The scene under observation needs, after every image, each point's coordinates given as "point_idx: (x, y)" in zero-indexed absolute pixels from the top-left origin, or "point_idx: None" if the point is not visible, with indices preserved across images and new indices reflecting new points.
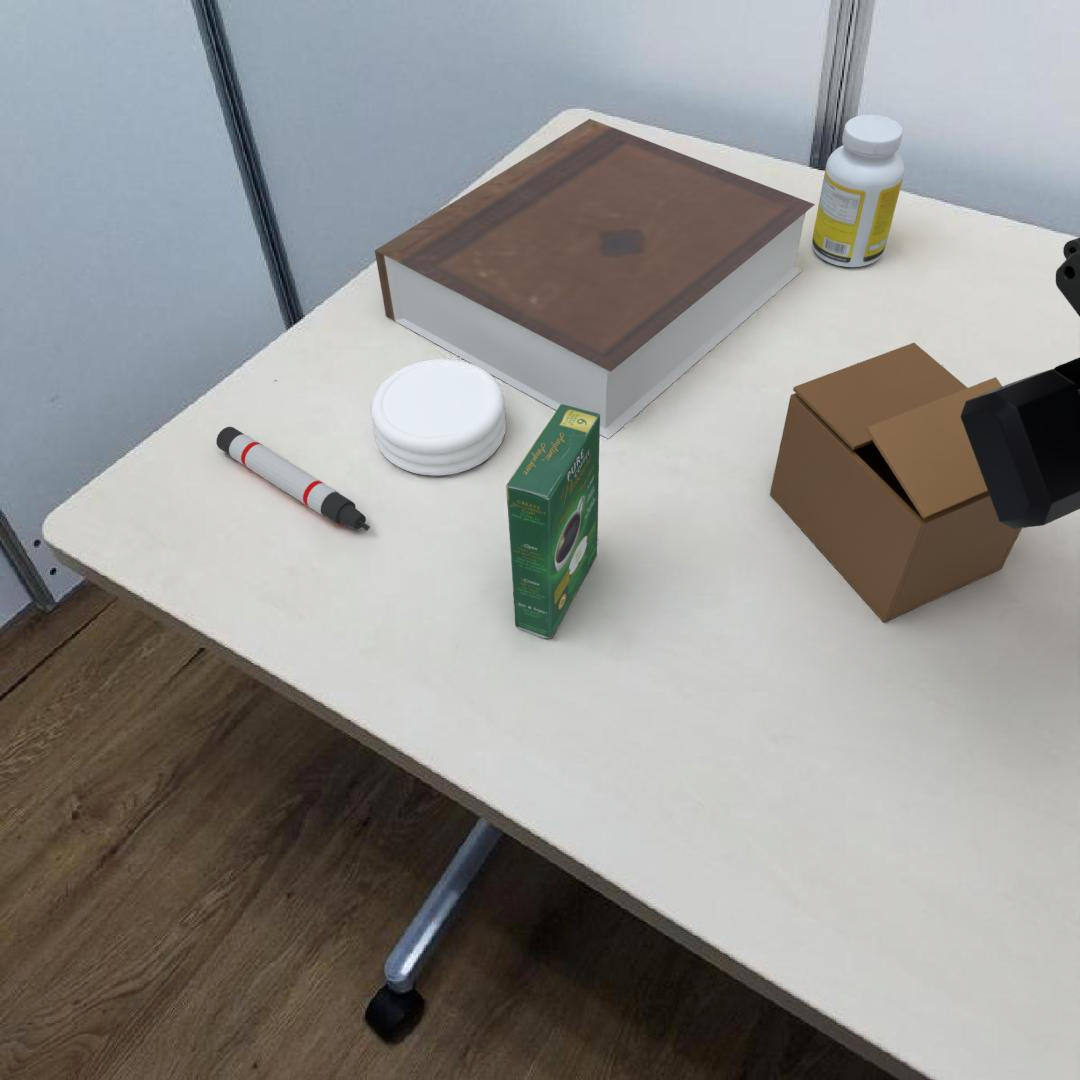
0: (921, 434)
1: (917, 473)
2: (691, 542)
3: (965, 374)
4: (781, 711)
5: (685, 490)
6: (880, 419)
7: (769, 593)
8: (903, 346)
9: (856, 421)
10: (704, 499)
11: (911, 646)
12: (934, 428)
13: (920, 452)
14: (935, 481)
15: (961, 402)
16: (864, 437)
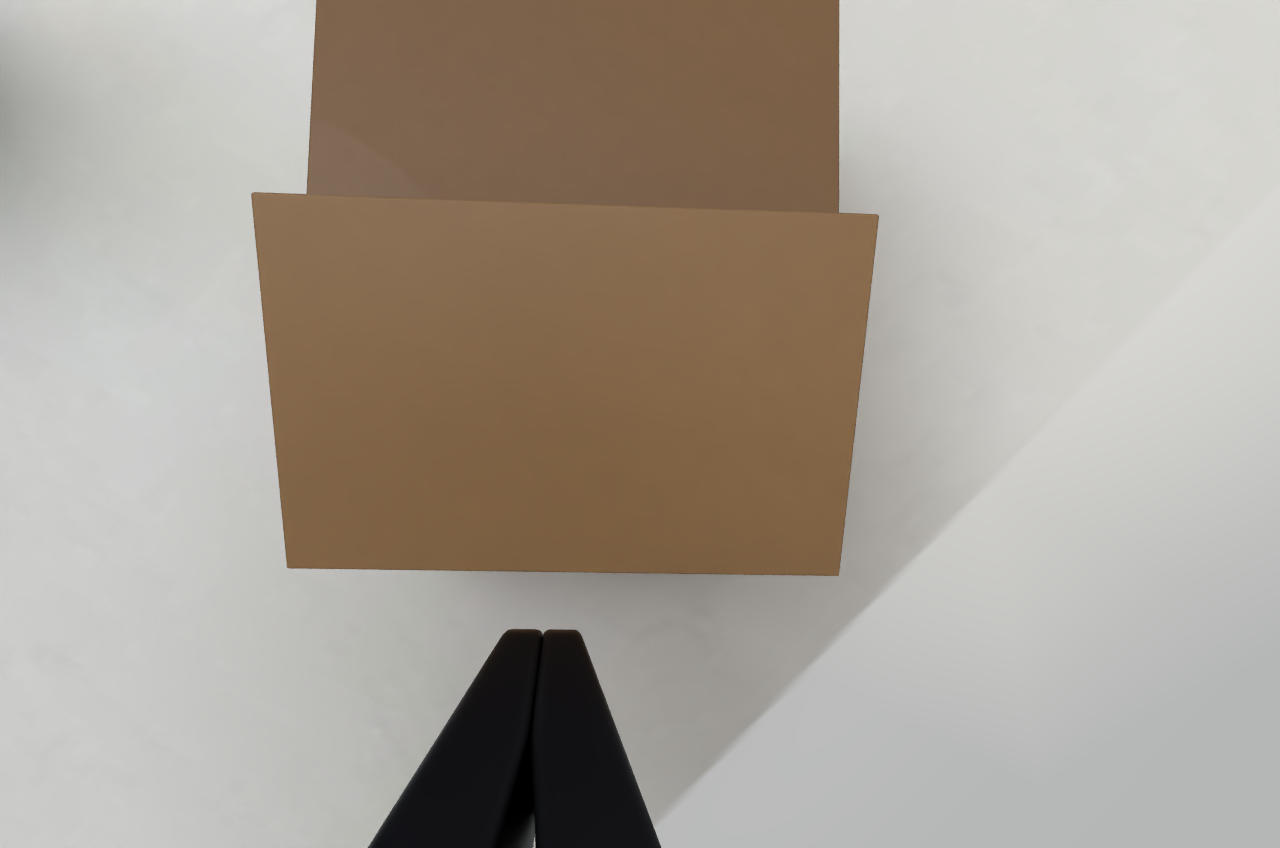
0: (442, 307)
1: (343, 431)
2: (199, 154)
3: (1088, 37)
4: (94, 607)
5: (279, 20)
6: (472, 145)
7: (262, 351)
8: None
9: (393, 114)
10: (301, 64)
11: (433, 603)
12: (506, 306)
13: (398, 367)
14: (389, 481)
15: (675, 254)
16: (366, 186)
